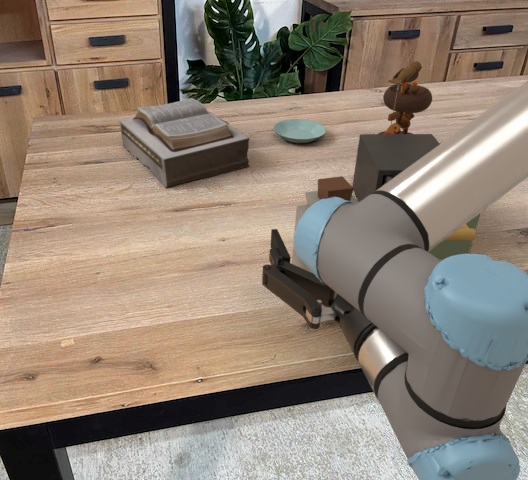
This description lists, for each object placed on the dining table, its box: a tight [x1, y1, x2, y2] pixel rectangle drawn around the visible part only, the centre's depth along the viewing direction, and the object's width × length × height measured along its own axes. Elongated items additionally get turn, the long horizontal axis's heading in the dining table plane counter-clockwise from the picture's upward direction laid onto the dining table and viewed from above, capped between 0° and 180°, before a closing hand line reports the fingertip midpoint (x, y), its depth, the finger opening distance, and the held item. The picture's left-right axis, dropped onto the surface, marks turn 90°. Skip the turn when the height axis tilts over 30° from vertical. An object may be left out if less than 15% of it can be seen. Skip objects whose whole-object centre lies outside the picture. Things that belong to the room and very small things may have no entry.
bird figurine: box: [377, 60, 433, 134], centre depth 110 cm, size 15×11×20 cm
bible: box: [118, 97, 250, 189], centre depth 113 cm, size 23×27×10 cm
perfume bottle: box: [291, 175, 359, 300], centre depth 70 cm, size 7×7×18 cm
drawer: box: [381, 175, 482, 261], centre depth 82 cm, size 18×12×9 cm, turn 178°
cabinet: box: [351, 133, 441, 202], centre depth 93 cm, size 15×13×11 cm
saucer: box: [272, 118, 327, 144], centre depth 122 cm, size 12×12×2 cm
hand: (323, 232), depth 71 cm, fingers open, 13 cm apart
